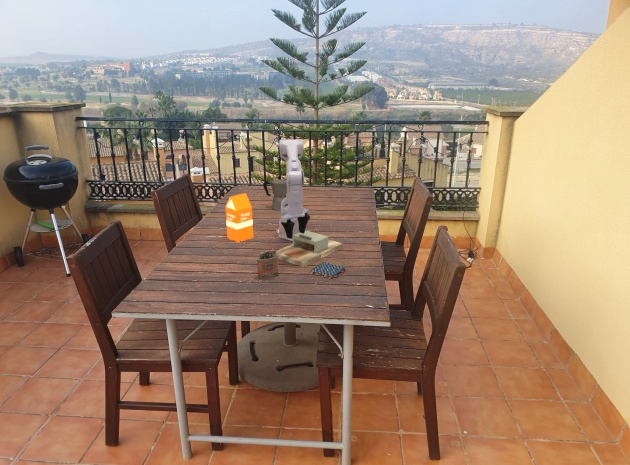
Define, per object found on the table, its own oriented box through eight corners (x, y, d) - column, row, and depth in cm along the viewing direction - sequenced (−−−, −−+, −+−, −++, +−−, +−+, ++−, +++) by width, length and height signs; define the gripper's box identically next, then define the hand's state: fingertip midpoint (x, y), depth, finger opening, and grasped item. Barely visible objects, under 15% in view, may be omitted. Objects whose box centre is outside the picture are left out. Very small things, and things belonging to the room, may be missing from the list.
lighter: (259, 280, 166) (258, 254, 163) (256, 276, 169) (255, 251, 166) (280, 275, 170) (279, 250, 166) (276, 272, 172) (275, 247, 169)
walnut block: (302, 252, 191) (302, 242, 190) (309, 249, 195) (309, 239, 193) (311, 254, 189) (311, 244, 187) (317, 251, 192) (317, 241, 190)
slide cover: (292, 245, 192) (292, 233, 190) (305, 240, 197) (305, 228, 196) (315, 253, 184) (315, 240, 182) (328, 247, 190) (328, 234, 188)
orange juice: (253, 237, 208) (251, 194, 201) (237, 242, 202) (235, 198, 195) (242, 233, 213) (240, 191, 206) (227, 238, 207) (224, 195, 200)
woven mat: (333, 281, 166) (333, 276, 166) (309, 274, 172) (309, 269, 171) (347, 271, 174) (347, 266, 174) (323, 265, 180) (323, 260, 179)
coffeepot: (290, 205, 256) (290, 173, 250) (293, 210, 247) (293, 177, 241) (263, 207, 253) (261, 174, 247) (265, 212, 244) (263, 178, 238)
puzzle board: (273, 257, 186) (272, 252, 185) (313, 239, 205) (313, 234, 204) (303, 267, 177) (303, 262, 176) (342, 247, 196) (342, 243, 195)
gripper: (291, 207, 168) (291, 242, 172) (315, 199, 179) (315, 232, 183) (276, 204, 172) (277, 238, 176) (301, 196, 183) (301, 229, 187)
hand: (295, 235), depth 180 cm, fingers open, 7 cm apart
